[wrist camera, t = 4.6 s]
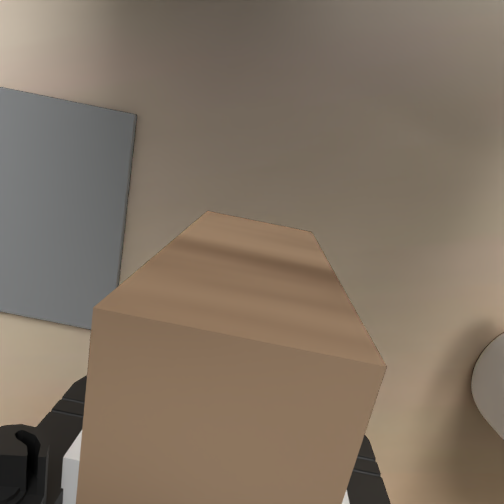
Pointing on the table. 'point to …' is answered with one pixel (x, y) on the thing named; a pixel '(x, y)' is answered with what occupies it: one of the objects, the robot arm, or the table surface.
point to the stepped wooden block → (227, 374)
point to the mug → (490, 384)
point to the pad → (61, 205)
